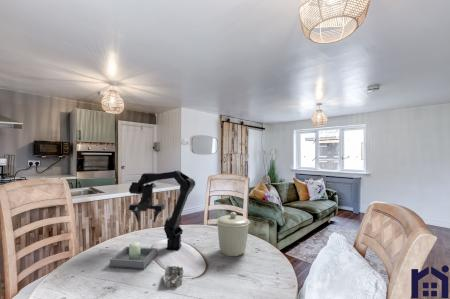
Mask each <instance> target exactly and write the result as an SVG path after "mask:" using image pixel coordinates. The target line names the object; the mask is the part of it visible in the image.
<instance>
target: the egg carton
mask: <svg viewBox="0 0 450 299" xmlns="http://www.w3.org/2000/svg"><path fill="white" fill-rule="evenodd" d="M170 274H171V278H169V277H170ZM178 274H179V275H178ZM183 275H184V268H183V266H180V267H179V265H177V266H175V265H172V266H171V265H166V268H165V271H164V275H163V281H164V287H166V288H167V289H168V288H171V287H173V286H174V287H176V288H179V287H180V286H182V285H183V284H182V283H183ZM178 276H179V277H178ZM169 279H171V280H170V281H169Z"/></svg>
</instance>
